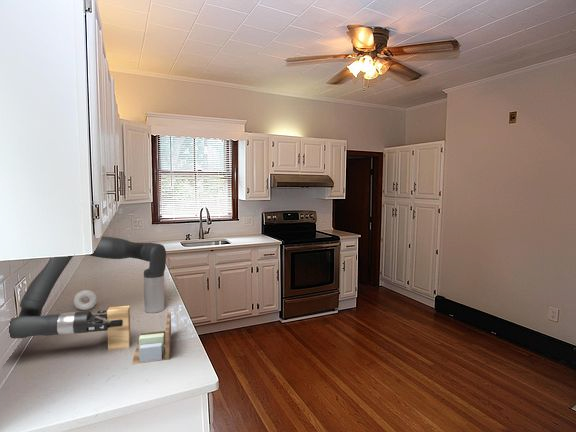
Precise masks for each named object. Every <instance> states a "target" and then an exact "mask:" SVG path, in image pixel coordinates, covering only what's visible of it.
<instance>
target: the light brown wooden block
mask: <svg viewBox="0 0 576 432" xmlns="http://www.w3.org/2000/svg"><path fill="white" fill-rule="evenodd" d="M106 310H107V320H109V321H111V320H123V325H122V326H118V327H111V328H108V330H107V351H116V350H126V349H130V346H131V343H132V342H131V335H132V333H131V305H123V306H121V305H120V306H110V307H108V309H106Z"/></svg>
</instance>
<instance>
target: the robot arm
mask: <svg viewBox="0 0 576 432" xmlns="http://www.w3.org/2000/svg"><path fill="white" fill-rule="evenodd" d="M101 237H102V238H101V240H100V242H99V244H98V246H97V248H96V250H95V251H94V253H93V254H91V255H88V256H90V257H91V256H92V257H95V258H102V259H109V260H122V259H123V260H124V259H130V258H131V259H138V260H141V261H145V262H148V263H149V267H148V268H146V269H144V271H143V294H144V295H143V300H144V302H143V303H144V306H143V308H144V309H143V310H144V312H145V313H147V314H148V313H149V314H152V313H159V312H162V311H164V310H165V270H166V266H167V265H166V263H167V252H166V247H165V246H164V245H163V244H160V243H157V242H155V243H153V242H135V241H134V242H133V241H130V240H128V239H124V238H119V237H114V236H113V237H112V236H101ZM73 257H74V256H68V257H54V258H51V257H50V258H49V260H48V262H47V263H46V264H45V266H44V267H43V268H42V269H41V271H40V272H39V273H38V274H37V275H36V276H35V277H34V279H32V281H31V282H30V284H29V285H28V286H27V289H26V291H25V293H24V295H23V296H22V299H21V301H20V303H19V306H20V312H19V313H18V316H16V317H12V318H10V319H11V321H10V326H9V333H10V337H11V338H10V339H25V338H29V337H36V336H37V337H38V336H58V335H73V334H74V335H76V334H84V333H92V332H106V331H107V332H108V328H111V327H118V326H122V325H123V320H111V321H109V320H107V310H108V309H106V310H99V311H97V314H92V311H90V310H81V311H71V312H65V313H56V314H55V313H54V314H47V315H42V313H43V312H42V311H43V308H44V307H45V304H46V303H47V301H48V298H49V296H50V295H51V292H52V291H53V288H54V286H55V284H56V283H57V281H58V279H60V276H61V274H62V273H63V272H64V271H65V269H66V267H67V266H68V265H69V263H70V261H71V260H72V258H73Z"/></svg>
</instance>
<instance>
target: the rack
mask: <svg viewBox="0 0 576 432" xmlns="http://www.w3.org/2000/svg"><path fill="white" fill-rule="evenodd" d="M158 333H164V355H163V356H162V360H156V361H148V362H140V358H139V340H138V342H137V345H136V348H135V352H134V354H133V358H132V361H131V365H137V364H144V363H145V364H146V363H151V362H152V363H153V362H154V363H155V362H161V361H169V360H170V356H171V355H170V354H171V342H172V341H171V340H172V312H171V311H168V312H167V314H166V323H165V330H161V331H150V332H141V333H140V335H149V334H158Z"/></svg>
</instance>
